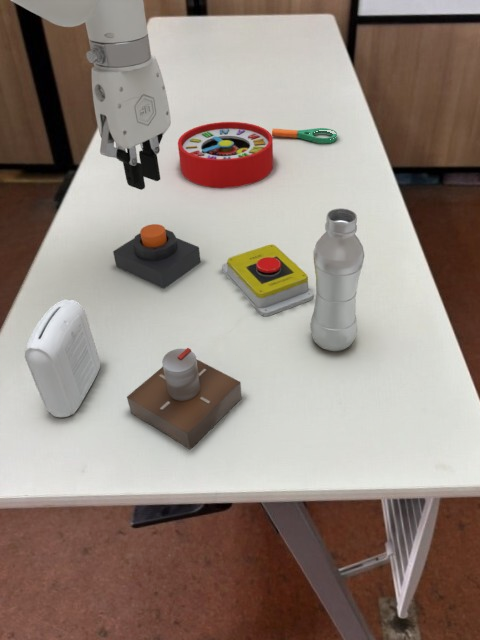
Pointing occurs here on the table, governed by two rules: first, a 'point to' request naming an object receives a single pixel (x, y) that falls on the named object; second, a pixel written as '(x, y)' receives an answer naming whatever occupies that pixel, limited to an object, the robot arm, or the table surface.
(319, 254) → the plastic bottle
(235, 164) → the toy clock
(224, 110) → the table surface
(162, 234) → the orange push button
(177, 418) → the dial panel
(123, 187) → the table surface
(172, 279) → the button base
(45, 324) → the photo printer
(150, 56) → the robot arm
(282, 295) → the emergency button
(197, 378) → the dial
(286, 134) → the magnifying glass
